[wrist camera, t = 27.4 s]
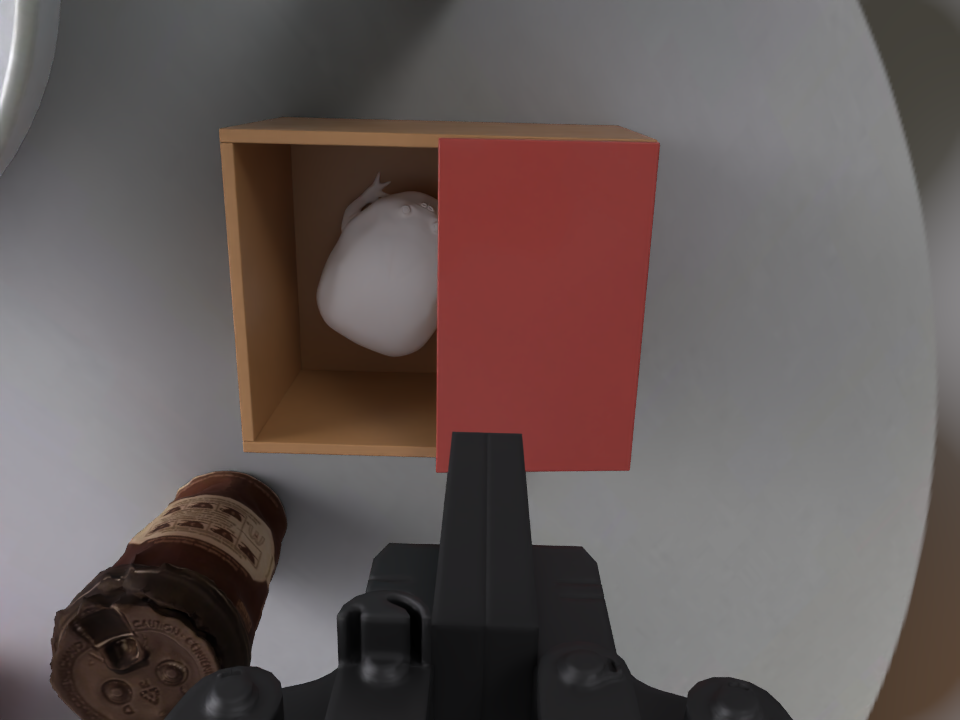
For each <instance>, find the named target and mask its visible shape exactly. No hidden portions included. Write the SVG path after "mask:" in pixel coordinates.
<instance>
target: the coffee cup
mask: <svg viewBox="0 0 960 720" xmlns="http://www.w3.org/2000/svg"><path fill="white" fill-rule="evenodd" d="M286 529H287V519H286V515H285V512H284V509H283V506H282V504H281V501H280V499H279V498H278V496H277V495H276V494H275V493H274V492H273V491H272V490H271V489H270V488H269V487H268V486H267V485H265V484H264V483H262V482H260V481H259V480H257V479H255V478H253V477H252V476H250V475H248V474H244V473H240V472H233V471H215V472H211V473H208V474H204V475H200V476H197V477H194V478H193V479H192V480H191V481H190V482H189V483H187V484H186V485H184V486H183V487H181V488H179V490H178V491H177V494H176V498H175V500H174V501H173V502H171V503H170V504H169V505H168V507H167V508H166V509H165V510H164V511H163V512H162V513H161V514H160V515H159V516H158V517H157V518H155V519H154V520H153V521H152V522H151V523H149V524H148V525H147V526H146V527H145V528H144V529H143V530H141V531H140V532H139V533H138V534H137V535H136V536H135V537H134V538H133V539H132V540H131V541H130V542H129V543H128V545H127V548H126V551H125V553H124V554H123V556H122V557H121V558H120V559H119V560H118V561H117V562H116V563H115V564H114V565H113V566H112V567H109V568H108V569H106V570H104V571H101V572H100V573H99V574H98V575H97V576H96V577H95V578H94V579H93V580H92V581H91V582H90V583H89V584H88V585H87V586H86V587H85V588H84V589H83V590H82V591H81V592H80V593H79V594H78V595H77V596H76V597H75V598H74V599H73V600H72V602H71V603H70V605H69V606H68V607H67V608H66V609H64V610H60V611H58V612H56V616H55V619H54V621H55V627H54V632H53V638H51V644H52V653H53V657H52V662H51V663H50V665H51V669H52V673H51V675H50V677H51V678H50V683H51V685H52V688H53V689H54V690H55V691H56V692H57V694H58V697H59V698H60V699H61V700H63V702H64V703H65V704H66V705H67V706H68V707H69V708H70V709H71V710H72V711H73V712H74V713H76V714H77V715H78V716H79V717H80V718H81V719H82V720H164V719H165V717H166V716H167V715H168V714H169V713H170V711H171V710H172V709H173V708H174V707H175V706H176V704H177V703H178V702H179V701H180V700H181V698H182V697H183V696H184V695H185V694H186V693H187V691H188V690H189V689H190V688H191V687H193V686H194V685H195V684H196V683H197V682H198V681H200V680H201V679H202V678H203V677H205V676H208V675H210V674H212V673H214V672H216V671H218V670H221V669H226V668H231V667H236V666H250V662H251V650H252V644H253V639H254V636H255V631H256V630H257V627H258V624H259V621H260V619H261V616H262V610H263V607H264V605H265V601H266V598H267V596H268V593H269V584H270V582H271V580H272V577H273V575H274V573H275V570H276V567H277V564H278V561H279V557H280V551H281V542H282V540H283V537H284V535H285V533H286Z"/></svg>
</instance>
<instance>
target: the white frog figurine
mask: <svg viewBox="0 0 960 720" xmlns="http://www.w3.org/2000/svg"><path fill="white" fill-rule="evenodd" d="M379 178H380V172H378V174H377V176H376V178H375V180H374V182H373V184H372V185H371V186H370V187H368V188H367V189H366V190H365V191H364V192H363V194H362V195H361V196H360V197H358V198H357V199H356V200H354V201H353V202H352V203H351V204H350V205H349V206H348V207H347V208H346V210H345V212H344V215H343V220H342V225H341V231H342V233H341V235H340V238H339V240H338V242H337V243H336V245H335V247H334V248H333V250H332V252H331V253H330V255H329V257H328V259H327V261H326V264H325V266H324V269H323V271H322V274H321V278H320V281H319V284H318V288H317V293H316V300H317V305H318V308H319V311H320V314H321V316H322V318H323V319H324V321H325V322H326V324H327V325H328V326H329V327H331V328H332V329H333V330H335V331H336V332H338V333H339V334H341V335H343V336H344V337H346V338H348V339H349V340H351V341H353V342H354V343H356V344H358V345H360V346H363V347H365V348H367V349H370V350H372V351H375V352H378V353H380V354H383V355H386V356H391V357H399V356H404V355H408V354H411V353H413V352H416V351H418V350H419V349H421V348H422V347H423V346H424V345H425V344H426V342H427V341H428V340H429V339H430V337H431V336H432V334H433V333H434V332H435V330H436V329H437V266H438V200H437V199H435V198H433V197H431V196H429V195H427V194H424V193H421V192H416V191H406V192H401V193H396V194H391V195H390V194H387V193H384V192H383V191H382V189H383V188H384V187H386V186H387V185H388V184H390V182H391V181H389V182H386V183H380V181H379ZM379 197H381V198H379ZM368 203H372V204H371V205H369V206H368V207H367V208H365V209H364V210H363V211H361V209H362V208H363V207H364V206H365V205H366V204H368Z"/></svg>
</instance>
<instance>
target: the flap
mask: <svg viewBox="0 0 960 720" xmlns="http://www.w3.org/2000/svg"><path fill="white" fill-rule="evenodd" d="M659 149H660V143H658V142H631V141H581V140H531V139H481V138H439V139H438V266H437V402H436V472H437V473H447V472H448V466H449V457H450V448H451V439H452V432H483V433H520V434H522V438H523V450H524V461H525V472H538V471H629V470H630V462H631V451H632V441H633V430H634V419H635V408H636V397H637V387H638V376H639V365H640V354H641V343H642V333H643V322H644V311H645V300H646V289H647V279H648V268H649V257H650V246H651V235H652V225H653V214H654V203H655V192H656V181H657V171H658V160H659Z"/></svg>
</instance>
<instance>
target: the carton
mask: <svg viewBox="0 0 960 720" xmlns="http://www.w3.org/2000/svg"><path fill="white" fill-rule="evenodd" d="M219 137H220V142H222V143H220V150H221V163H222V176H223V189H224V202H225V215H226V228H227V241H228V254H229V267H230V280H231V293H232V306H233V319H234V333H235V346H236V359H237V372H238V385H239V398H240V411H241V424H242V437H243V450H244V452H256V453H293V454H329V455H365V456H402V457H436V402H437V329H436V330H435V332H434V333H433V334H432V336H431V337H430V339H429V340H428V341H427V342H426V344H425V345H424V346H423V347H422V348H421V349H419V350H418V351H416V352H413V353H411V354H408V355H404V356H399V357H391V356H386V355H383V354H380V353H378V352H375V351H372V350H370V349H367V348H365V347H363V346H360V345H358V344H356V343H354V342H353V341H351V340H349V339H348V338H346V337H344V336H343V335H341V334H339V333H338V332H336V331H335V330H333V329H332V328H331V327H329V326H328V325H327V324H326V322H325V321H324V319H323V318H322V316H321V314H320V311H319V308H318V305H317V300H316V293H317V288H318V284H319V281H320V278H321V274H322V271H323V269H324V266H325V264H326V261H327V259H328V257H329V255H330V253H331V252H332V250H333V248H334V247H335V245H336V243H337V242H338V240H339V238H340V235H341V233H342V231H341V225H342V220H343V215H344V212H345V210H346V208H347V207H348V206H349V205H350V204H351V203H352V202H353V201H354V200H356V199H357V198H358V197H360V196H361V195H362V194H363V192H364V191H365V190H366V189H367V188H368V187H370V186H371V185H372V184H373V182H374V180H375V178H376V176H377V174H378V172H380V178H379V181H380V183H386V182H389V181H391V182H390V184H388V185H387V186H386V187H384V188H383V189H382V191H383V192H384V193H387V194H390V195H391V194H396V193H401V192H406V191H416V192H421V193H424V194H427V195H429V196H431V197H433V198H435V199H437V200H438V139H439V138H481V139H531V140H581V141H631V142H657V140H656V139H653V138H650V137H648V136H645V135H642V134H639V133H637V132H634V131H631V130H629V129H626V128H623V127H621V126H615V125H576V124H537V123H498V122H459V121H420V120H381V119H343V118H304V117H279V118H274V119H269V120H263V121H258V122H252V123H247V124H241V125H236V126H231V127H225V128H220V129H219ZM379 198H381V197H379ZM371 204H372V203H368V204H366V205H365V206H364V207H363V208H362V209H361V211H363V210H364V209H365V208H367V207H368V206H369V205H371Z"/></svg>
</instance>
